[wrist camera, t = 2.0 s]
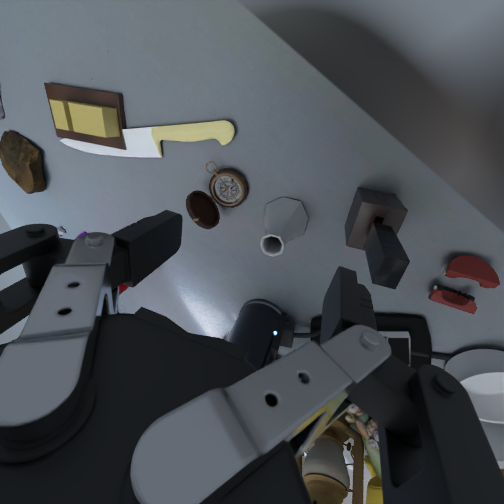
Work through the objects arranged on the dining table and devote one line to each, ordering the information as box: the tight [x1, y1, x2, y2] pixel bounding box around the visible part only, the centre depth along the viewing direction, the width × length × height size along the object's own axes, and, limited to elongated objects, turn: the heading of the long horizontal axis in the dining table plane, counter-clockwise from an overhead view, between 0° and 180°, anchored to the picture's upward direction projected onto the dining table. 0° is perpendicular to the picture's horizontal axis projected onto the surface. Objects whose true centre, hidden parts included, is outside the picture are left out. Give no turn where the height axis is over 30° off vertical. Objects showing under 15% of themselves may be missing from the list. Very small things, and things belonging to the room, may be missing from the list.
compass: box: [186, 162, 248, 229], centre depth 37 cm, size 8×8×7 cm
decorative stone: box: [0, 131, 45, 194], centre depth 48 cm, size 10×9×4 cm
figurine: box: [345, 404, 382, 480], centre depth 48 cm, size 14×14×20 cm
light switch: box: [311, 314, 432, 370], centre depth 46 cm, size 20×3×14 cm
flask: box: [260, 197, 308, 257], centre depth 36 cm, size 7×7×10 cm
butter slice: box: [49, 99, 79, 131], centre depth 40 cm, size 2×4×3 cm, turn 172°
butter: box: [68, 102, 120, 138], centre depth 39 cm, size 6×4×3 cm, turn 82°
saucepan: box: [444, 349, 504, 424], centre depth 42 cm, size 12×20×6 cm, turn 150°
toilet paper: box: [480, 420, 504, 477], centre depth 42 cm, size 10×10×10 cm
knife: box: [60, 120, 235, 157], centre depth 41 cm, size 1×34×5 cm
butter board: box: [44, 83, 127, 150], centre depth 41 cm, size 14×8×1 cm, turn 82°
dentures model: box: [428, 255, 500, 314], centre depth 35 cm, size 6×4×8 cm
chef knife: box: [364, 216, 410, 289], centre depth 29 cm, size 2×3×17 cm, turn 172°
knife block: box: [345, 188, 408, 250], centre depth 33 cm, size 5×6×7 cm
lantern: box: [296, 412, 364, 504], centre depth 47 cm, size 15×10×30 cm
